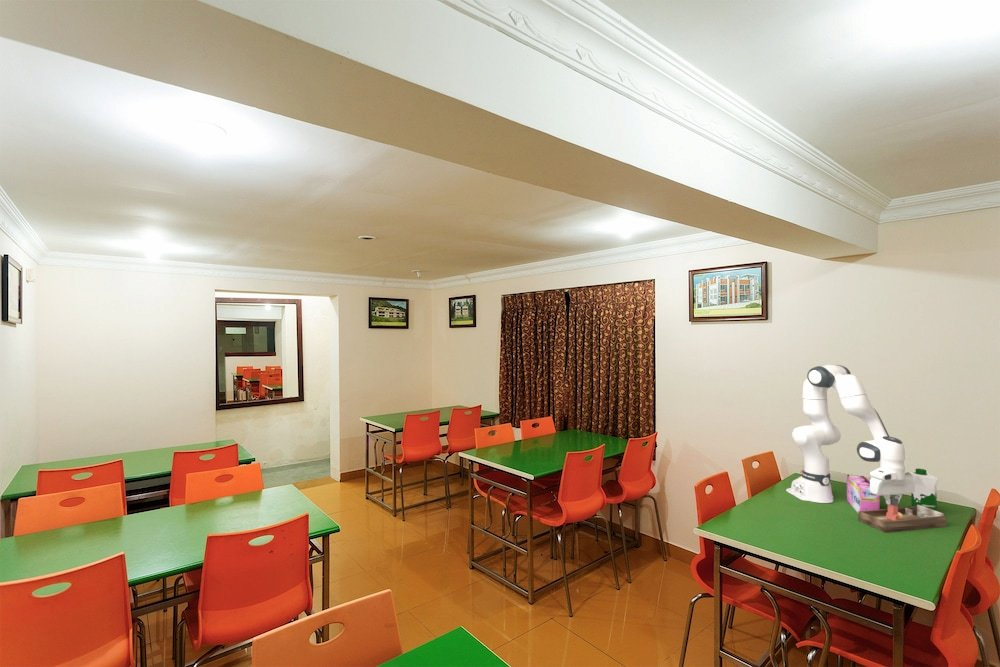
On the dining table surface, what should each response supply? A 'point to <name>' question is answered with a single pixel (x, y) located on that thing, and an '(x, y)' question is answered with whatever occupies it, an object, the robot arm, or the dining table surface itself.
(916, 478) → the milk carton
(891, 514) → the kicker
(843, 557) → the dining table surface
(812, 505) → the dining table surface
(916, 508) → the pitch
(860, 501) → the gum box
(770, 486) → the dining table surface
